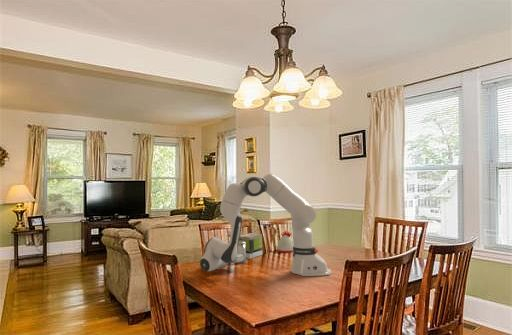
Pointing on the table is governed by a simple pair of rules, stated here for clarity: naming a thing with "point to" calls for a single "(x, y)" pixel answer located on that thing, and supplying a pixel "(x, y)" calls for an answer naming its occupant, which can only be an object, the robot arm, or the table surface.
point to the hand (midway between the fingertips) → (234, 254)
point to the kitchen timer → (285, 243)
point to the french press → (242, 250)
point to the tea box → (252, 245)
